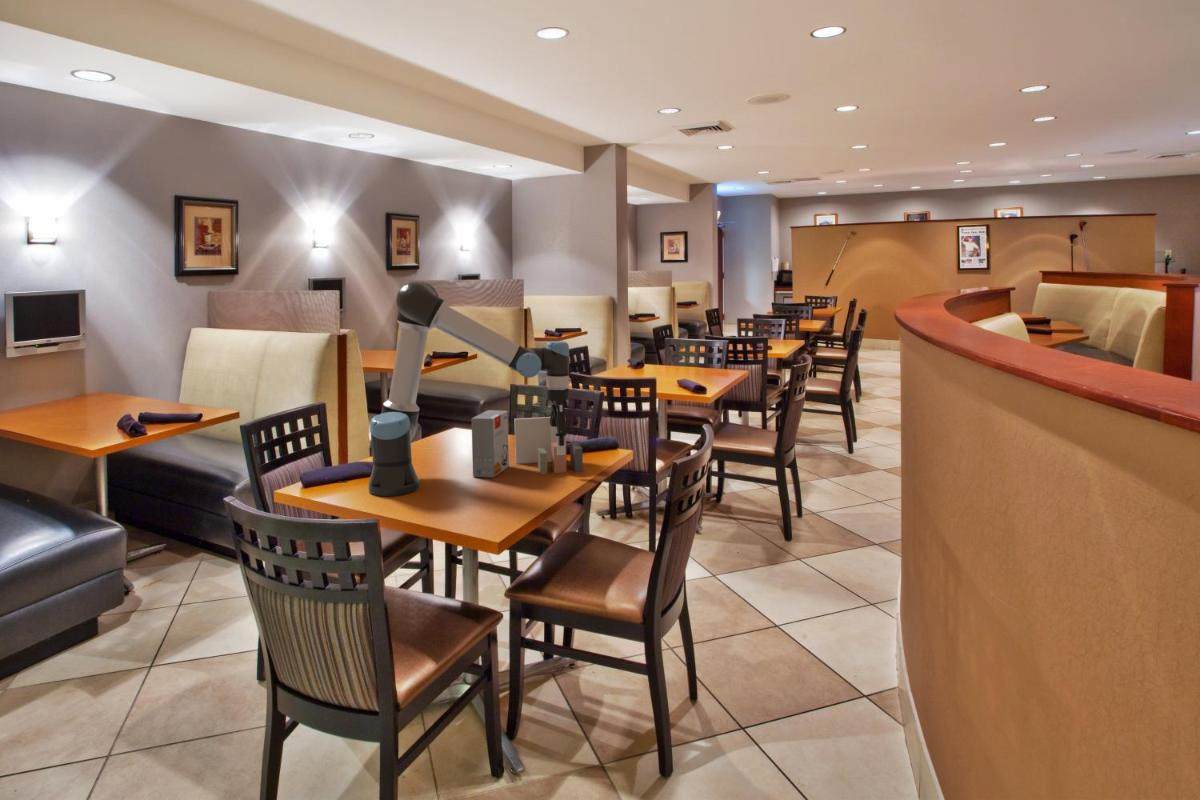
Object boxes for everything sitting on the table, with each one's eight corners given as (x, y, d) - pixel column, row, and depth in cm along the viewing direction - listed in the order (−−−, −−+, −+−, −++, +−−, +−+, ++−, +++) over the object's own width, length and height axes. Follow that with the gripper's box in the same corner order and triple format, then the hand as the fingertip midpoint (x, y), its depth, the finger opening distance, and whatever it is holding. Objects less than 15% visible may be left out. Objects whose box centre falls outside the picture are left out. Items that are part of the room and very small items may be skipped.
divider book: (541, 474, 235) (540, 453, 234) (538, 467, 243) (537, 448, 242) (547, 473, 236) (546, 453, 234) (544, 467, 243) (543, 447, 242)
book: (554, 472, 237) (553, 446, 235) (551, 468, 242) (551, 442, 241) (566, 472, 237) (565, 446, 236) (563, 467, 243) (562, 442, 242)
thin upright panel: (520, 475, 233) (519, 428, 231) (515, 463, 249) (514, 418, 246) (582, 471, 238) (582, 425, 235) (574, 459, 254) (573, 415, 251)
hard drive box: (494, 478, 230) (492, 419, 227) (472, 477, 232) (469, 418, 228) (509, 466, 245) (507, 410, 242) (489, 465, 247) (486, 409, 243)
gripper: (575, 393, 224) (575, 458, 227) (563, 382, 248) (563, 440, 251) (552, 394, 222) (552, 459, 226) (541, 382, 246) (542, 441, 250)
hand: (557, 449), depth 239 cm, fingers open, 13 cm apart
